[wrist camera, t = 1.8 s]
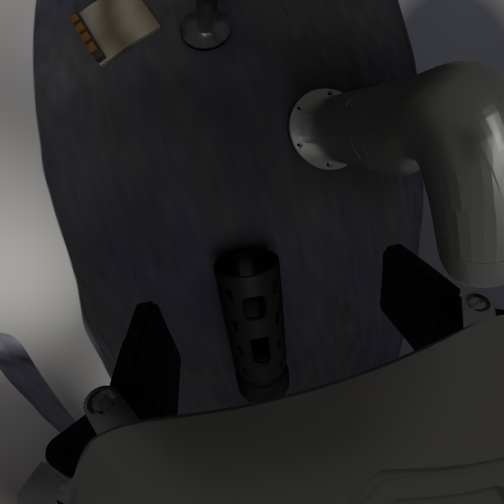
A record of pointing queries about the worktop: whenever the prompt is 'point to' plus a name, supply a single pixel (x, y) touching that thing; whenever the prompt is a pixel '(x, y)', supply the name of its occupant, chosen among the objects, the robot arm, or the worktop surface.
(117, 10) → the breaker board
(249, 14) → the worktop surface
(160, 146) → the worktop surface
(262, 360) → the muzzle brake
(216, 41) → the post
